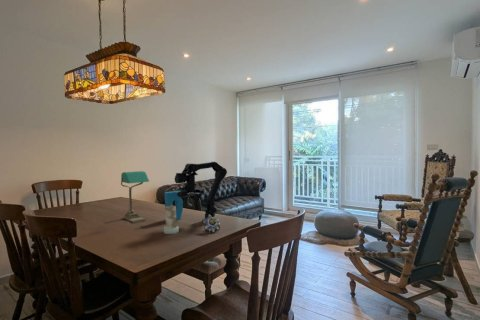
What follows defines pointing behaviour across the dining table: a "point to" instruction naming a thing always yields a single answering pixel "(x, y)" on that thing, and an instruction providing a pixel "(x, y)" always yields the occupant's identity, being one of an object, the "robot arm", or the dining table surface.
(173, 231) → the plinth
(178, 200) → the block
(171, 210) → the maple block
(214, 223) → the passion flower
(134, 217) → the banker's lamp
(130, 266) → the dining table surface
